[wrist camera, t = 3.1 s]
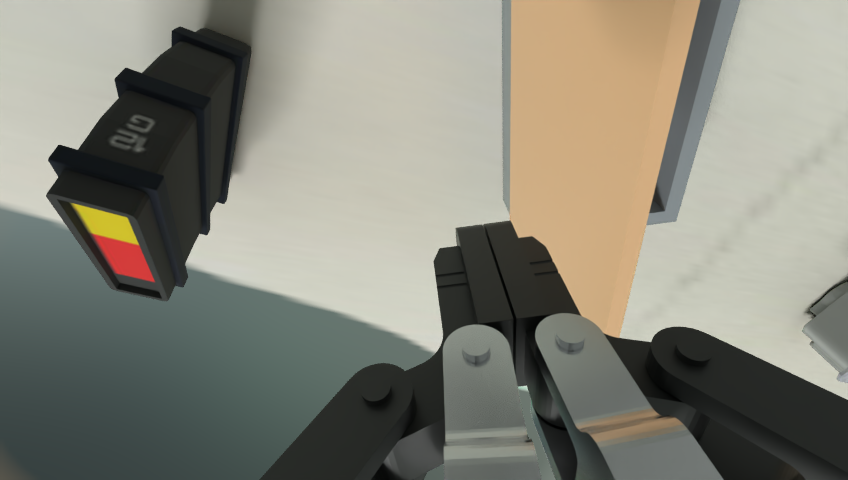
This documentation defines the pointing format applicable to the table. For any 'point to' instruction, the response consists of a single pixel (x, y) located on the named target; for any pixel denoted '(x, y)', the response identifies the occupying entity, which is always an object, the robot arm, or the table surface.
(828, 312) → the electrical outlet
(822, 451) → the robot arm
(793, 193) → the table surface
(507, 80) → the grey rectangular box
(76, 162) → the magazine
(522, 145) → the tan flat rectangular panel
